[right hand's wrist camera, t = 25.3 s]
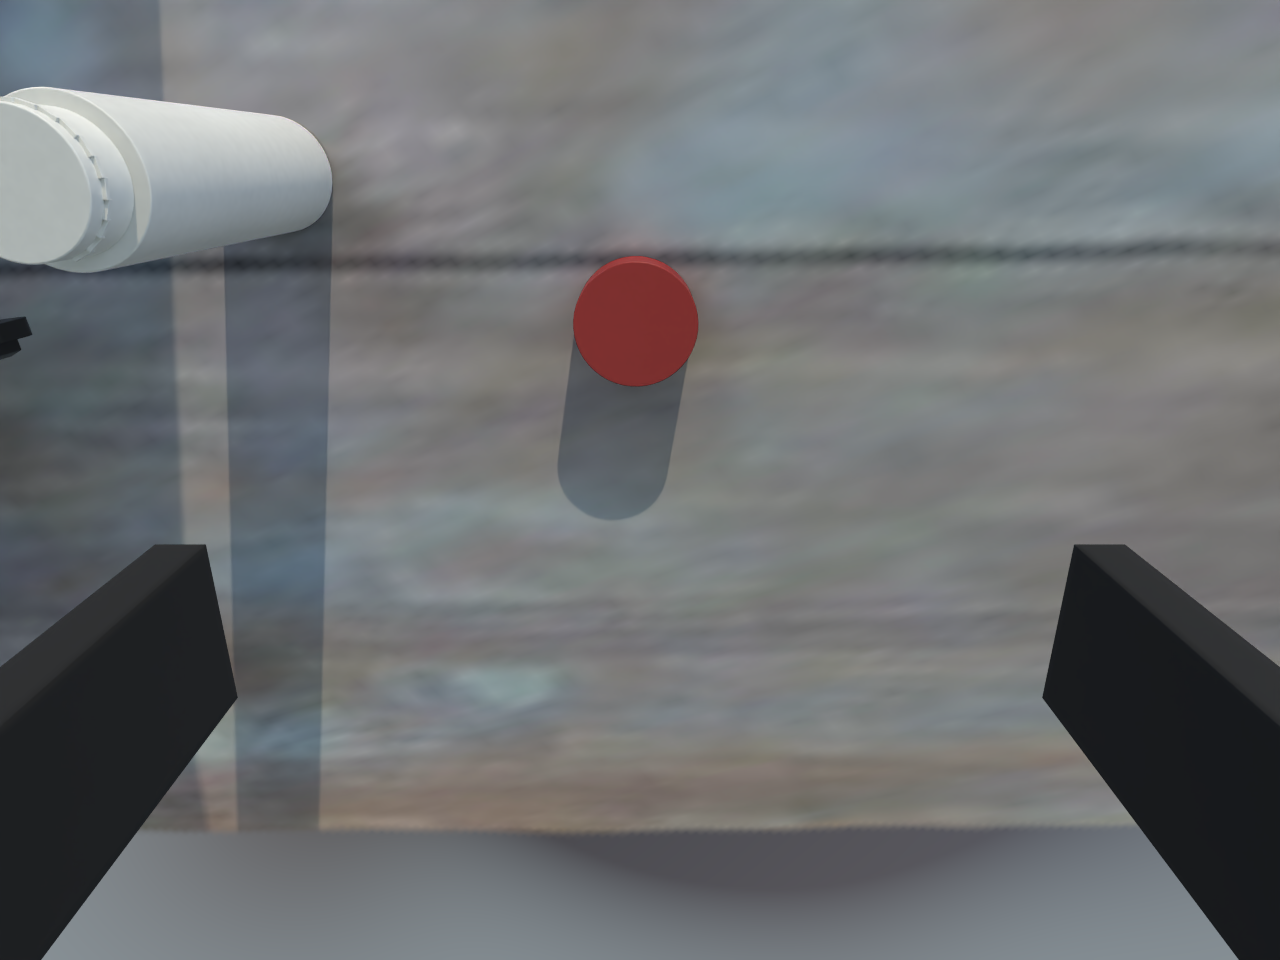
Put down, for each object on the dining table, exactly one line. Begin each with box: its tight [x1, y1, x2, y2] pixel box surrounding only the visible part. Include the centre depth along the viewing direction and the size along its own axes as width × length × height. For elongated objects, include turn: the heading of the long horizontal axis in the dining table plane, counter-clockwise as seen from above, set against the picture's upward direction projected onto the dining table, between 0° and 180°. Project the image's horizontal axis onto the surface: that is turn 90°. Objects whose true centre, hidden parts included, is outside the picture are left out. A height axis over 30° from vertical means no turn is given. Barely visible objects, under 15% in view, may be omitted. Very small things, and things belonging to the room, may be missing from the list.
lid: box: [573, 256, 698, 386], centre depth 37 cm, size 5×5×2 cm
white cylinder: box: [0, 87, 332, 273], centre depth 28 cm, size 5×5×16 cm
